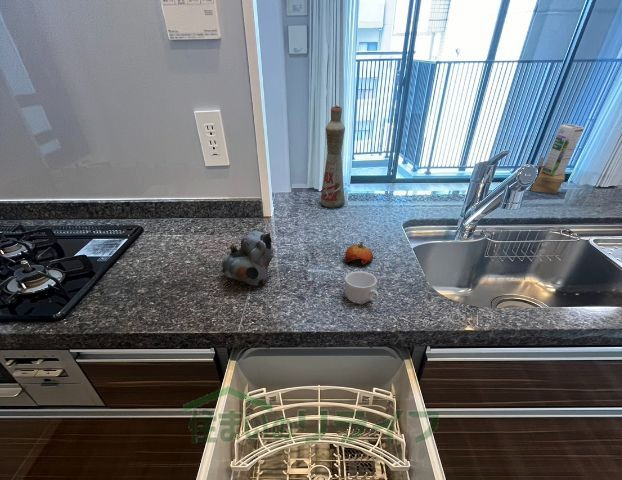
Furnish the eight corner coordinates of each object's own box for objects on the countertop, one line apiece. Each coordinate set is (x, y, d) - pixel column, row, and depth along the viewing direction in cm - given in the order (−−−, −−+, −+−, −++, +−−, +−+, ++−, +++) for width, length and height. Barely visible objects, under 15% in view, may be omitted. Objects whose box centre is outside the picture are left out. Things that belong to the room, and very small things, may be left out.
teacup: (337, 298, 92) (338, 278, 88) (359, 287, 95) (361, 268, 91) (365, 315, 87) (367, 295, 83) (387, 304, 90) (390, 283, 86)
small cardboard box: (558, 184, 145) (569, 160, 139) (557, 194, 138) (569, 169, 131) (531, 181, 148) (541, 157, 141) (529, 190, 141) (539, 166, 134)
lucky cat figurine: (220, 269, 102) (232, 216, 96) (261, 283, 106) (276, 232, 100) (219, 280, 89) (233, 220, 83) (266, 295, 93) (283, 239, 87)
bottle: (349, 206, 132) (356, 106, 111) (327, 210, 129) (329, 109, 108) (337, 198, 137) (342, 101, 116) (316, 202, 134) (316, 104, 113)
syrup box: (540, 172, 140) (559, 124, 129) (552, 170, 141) (572, 122, 130) (552, 176, 136) (573, 128, 125) (564, 174, 138) (585, 126, 127)
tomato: (381, 258, 102) (367, 241, 97) (364, 279, 104) (349, 263, 99) (366, 251, 108) (352, 234, 103) (351, 270, 109) (336, 255, 105)
